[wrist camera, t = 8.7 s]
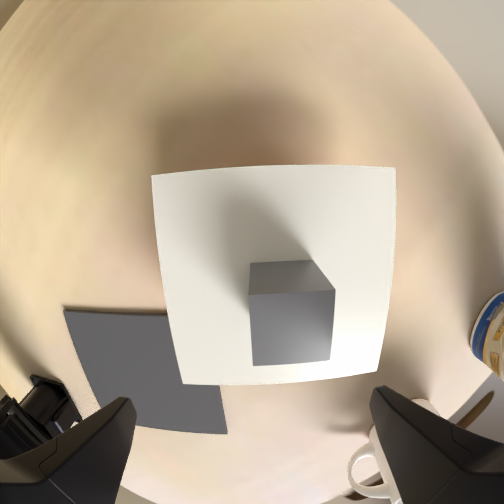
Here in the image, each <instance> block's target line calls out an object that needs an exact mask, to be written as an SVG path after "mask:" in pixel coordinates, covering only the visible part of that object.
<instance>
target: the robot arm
mask: <svg viewBox="0 0 504 504" xmlns="http://www.w3.org/2000/svg"><path fill="white" fill-rule="evenodd" d="M30 379H31V381H32V383H33V385H34V387H33V388H32V390H31V391H30V392H29V393H28V394H27V395H26V396H25V397H24V398H23V399H22V401H21V402H20V403H19V404H18V403H17V400H16V399H15V398H14V397H13V398H12V399H11V398H10V397H8V396H7V395H5V396H4V397H3V398H2V399H1V400H0V504H115V500H116V496H117V493H118V489H119V486H120V482H121V479H122V476H123V472H124V469H125V466H126V463H127V459H128V456H129V453H130V449H131V445H132V440H133V435H134V430H135V425H136V420H137V412H136V410H135V407H134V405H133V403H132V400H131V399H130V398H129V397H123V396H120V397H118V398H117V399H115V400H114V401H112V402H111V403H109V404H107V405H106V406H104V407H103V408H101V409H100V410H98V411H97V412H95V413H94V414H92V415H91V416H89V417H87V418H86V419H84V420H83V419H82V418H81V416H80V414H79V412H78V411H77V409H76V407H75V405H74V403H73V402H72V400H71V398H70V396H69V394H68V392H67V390H66V388H65V386H64V385H63V384H61V383H57V382H54V381H51V380H47V379H44V378H41V377H38V376H35V375H31V376H30ZM370 410H371V413H372V417H373V421H374V425H375V428H376V432H377V436H378V439H379V442H380V445H381V447H382V450H383V452H384V455H385V457H386V460H387V462H388V465H389V467H390V470H391V473H392V475H393V478H394V480H395V483H396V486H397V488H398V491H399V494H400V497H401V499H402V502H403V504H504V443H500V442H497V441H494V440H491V439H488V438H485V437H482V436H480V435H477V434H475V433H472V432H470V431H467V430H465V429H463V428H461V427H459V426H457V425H455V424H453V423H451V422H449V421H448V420H446V419H444V418H442V417H440V416H438V415H436V414H435V413H433V412H431V411H429V410H427V409H426V408H424V407H422V406H420V405H418V404H417V403H415V402H413V401H411V400H410V399H408V398H406V397H404V396H403V395H401V394H399V393H397V392H396V391H394V390H392V389H391V388H389V387H387V386H385V385H382V386H377V387H375V388H374V389H373V392H372V396H371V400H370ZM7 413H9V415H8V414H7ZM74 421H75V422H78V424H76V425H75V426H73V427H72V428H70V427H71V426H72V424H73V423H74Z"/></svg>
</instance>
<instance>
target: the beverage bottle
mask: <svg viewBox="0 0 504 504" xmlns="http://www.w3.org/2000/svg"><path fill="white" fill-rule="evenodd" d="M470 346H471V351H472V353H473V354H474V355H475V356H476V357H477V358H478V359H479V360H480V361H482V362H483V363H485V364H486V365H487V366H488V367H489V368H490V369H491V370H492V371H493V372H494V373H495V374H496V375H497V376H498V377H499V378H500V379H501V380H502V381H503V382H504V291H503V292H500V293H498V294H496V295H495V296H493V297H492V298H491V299H490V300H489V301H488V302H487V304H486V305H485V306H484V308H483V309H482V311H481V312H480V314H479V316H478V318H477V320H476V322H475V325H474V328H473V331H472V335H471V341H470Z"/></svg>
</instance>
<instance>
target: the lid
mask: <svg viewBox="0 0 504 504" xmlns="http://www.w3.org/2000/svg"><path fill="white" fill-rule="evenodd" d="M151 180H152V195H153V208H154V219H155V229H156V238H157V247H158V255H159V263H160V270H161V277H162V283H163V290H164V296H165V302H166V307H167V313H168V318H169V324H170V329H171V334H172V339H173V343H174V348H175V353H176V357H177V361H178V366H179V370H180V374H181V378H182V382H183V384H195V385H262V384H280V383H294V382H305V381H314V380H323V379H331V378H338V377H345V376H351V375H358V374H363V373H369V372H374V371H377V367H378V363H379V358H380V353H381V349H382V344H383V338H384V333H385V327H386V321H387V315H388V308H389V301H390V294H391V285H392V276H393V265H394V252H395V234H396V170H395V168H392V167H377V166H356V165H266V166H245V167H229V168H216V169H204V170H194V171H184V172H175V173H167V174H159V175H152V176H151Z"/></svg>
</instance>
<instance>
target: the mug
mask: <svg viewBox="0 0 504 504" xmlns="http://www.w3.org/2000/svg"><path fill="white" fill-rule="evenodd" d="M411 401H413V402H415V403H417V404H418V405H420V406H422V407H424V408H426V409H427V410H429V411H431V412H433V413H435V414H436V415H438V416H440V415H439V413H438V412H437V410H436V409H435V407H434V406H433V405H432V404H431V403H430V402H429V401H427V400H425V399H413V400H411ZM440 417H441V416H440ZM369 456H374V457H375V460H376V462H377V465H378V468H379V470H380V473H381V476H382V478H383V481H384V484H381V485H378V486H373V487H366V486H362V485H359V484H358V483H356V482H355V481H354V479H353V478H352V468H353V466H354V464H355V463H356V462H357V461H358V460H359V459H361V458H364V457H369ZM347 472H348V479H349V482H350V484H351V486H352V487H353V488H354V490H355V491H357V492H358V493H360V494H362V495H364V496H367V497H373V498H390V501H391V503H392V504H403V502H402V499H401V497H400V494H399V491H398V488H397V486H396V483H395V480H394V478H393V475H392V473H391V470H390V467H389V465H388V462H387V460H386V457H385V455H384V452H383V450H382V447H381V445H380V442H379V439H378V436H377V432H376V428H375V425H374V426H373V427H372V429H371V431H370V434H369V442H368V443H367V444H365V445H363V446H361V447H360V448H359V449H357V450H356V451H355V453H354V454H353V455H352V457H351V458H350V460H349V463H348V471H347Z"/></svg>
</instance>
